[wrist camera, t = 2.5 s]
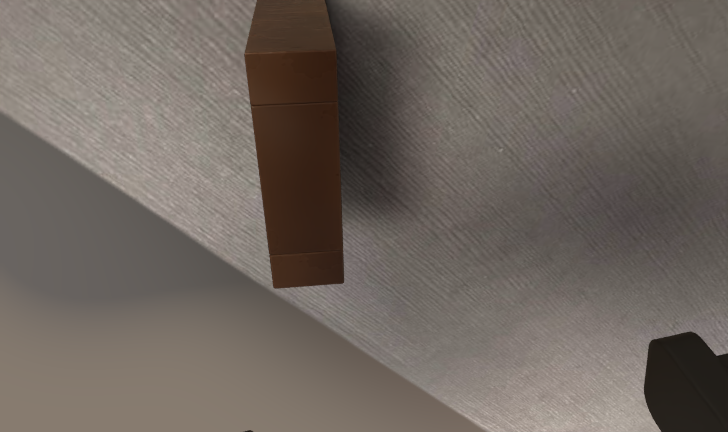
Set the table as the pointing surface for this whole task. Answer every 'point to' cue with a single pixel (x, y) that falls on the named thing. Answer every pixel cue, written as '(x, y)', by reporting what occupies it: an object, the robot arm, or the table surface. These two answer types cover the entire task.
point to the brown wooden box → (297, 139)
